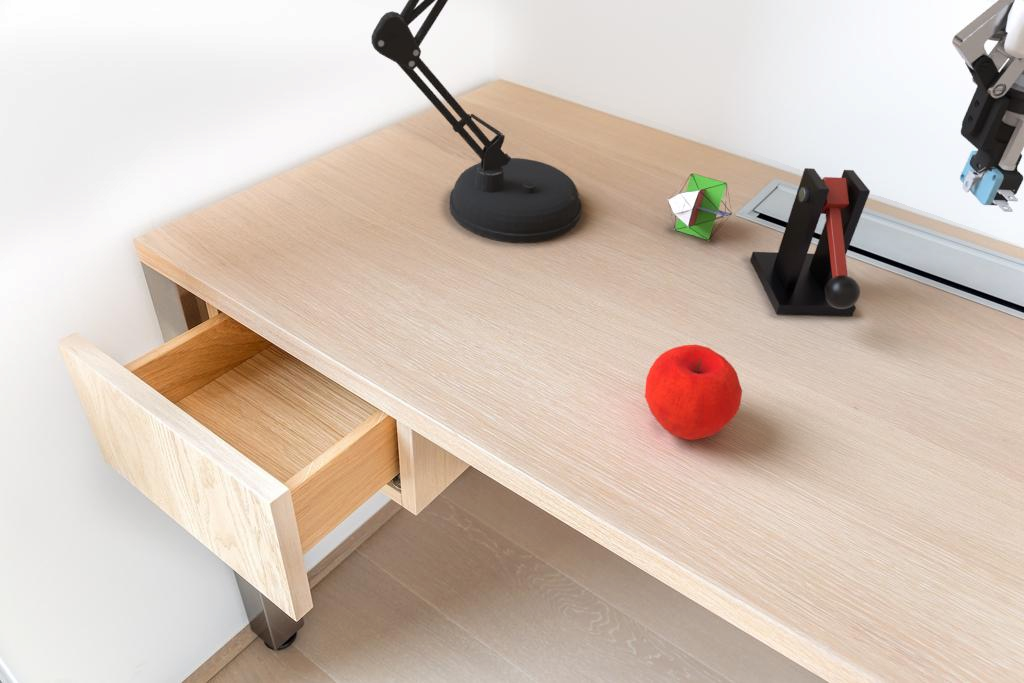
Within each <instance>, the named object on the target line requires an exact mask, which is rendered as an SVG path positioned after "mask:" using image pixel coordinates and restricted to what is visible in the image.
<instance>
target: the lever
mask: <svg viewBox="0 0 1024 683" xmlns="http://www.w3.org/2000/svg"><path fill="white" fill-rule="evenodd" d="M821 179H822V180H823V182H824V183H825V184H826V186H827V187H828V189H829V192H828V195H827V198H826V201H825V204H824V207H823V209H822V212H821V215H822V214H823V215H825V222H826V223H827V232H828V241H829V250H830V259H831V269H832V279H830V280H829V281H828V282H827V284H826V285H825V288H824V297H825V300H826V301H827V303H828V304H829V305H831V306H832V307H834V308H838V309H846V308H849V307H851V306H853V305H855V304H856V303H857V302H858V300H859V299H860V296H861V287H860V285H859V283H858V282H857V280H856V279H854V278H853V277H851V276H849V274H848V266H847V265H848V264H847V256H846V255H847V254H846V255H845V247H844V238H843V229H842V220H841V211H842V210H843V209H844V208H845V207H846V206H847V205H848V204H849V199H848V191H847V182H846V178H841V177H835V176H834V177H833V176H831V177H829V176H824V177H823V178H821Z"/></svg>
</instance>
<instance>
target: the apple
mask: <svg viewBox="0 0 1024 683" xmlns="http://www.w3.org/2000/svg"><path fill="white" fill-rule="evenodd" d="M644 389H645V390H644V398H645V400H646V403H647V405H648V409H649V411H650V413H651V414H652V416H653V418H655V420H656V421H657V423H659V424H660V426H661V427H662V428H663V429H664V430H665V431H667V432H668V433H670V434H671V435H673V436H676V437H678V438H681V439H684V440H691V441H692V440H693V441H694V440H699V439H703V438H707V437H711V436H713V435H715V434H716V433H719V432H720V431H721V430H722V429H724V428H725V427H726V426H727V424H729V423H730V421H732V420H733V419H734V418H735V417H736V415H737V413H738V412H739V410H740V406H741V405H742V404H741V402H742V394H743V389H742V386H741V383H740V380H739V376H738V372H737V371H736V369H735V367H734V366H733V365H732V364H731V363H730V362H729V361H728V360H727V359H726V358H725V357H724V356H723V355H721V354H719V353H718V352H717V351H715V350H713V349H711V348H710V347H708V346H704V345H698V344H685V345H680V346H676V347H673V348H670V349H667V350H666V351H664V352H662V353H661V354H660V355H659V356H658V357H657V358H655V360H654V362H653V363H652V365H651V366H650V368H649V371H648V373H647V376H646V379H645V388H644Z"/></svg>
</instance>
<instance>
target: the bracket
mask: <svg viewBox="0 0 1024 683" xmlns="http://www.w3.org/2000/svg"><path fill="white" fill-rule="evenodd" d="M840 178H846V182H847V191H848V199H849V204H848V205H847V206H846V207H845V208H844V209H843V210H842V211H841V220H842V229H843V238H844V247H845V255H847V252H848V250H849V247H850V245H851V242H852V240H853V237H854V234H855V231H856V229H857V227H858V225H859V221H860V219H861V216H862V214H863V212H864V209H865V207H866V203H867V200H868V199H869V195H870V193H871V190H870V189H869V188H868V187H867V185H866V184H865V183H864V182H863V181H862V179H861V177H859V175H858V174H857V173H856V171H855V170H854V169H843V171H842V174H841V177H840ZM822 179H823V178H822V177H821V176H820V175H819V173H818V172H817V171H816V169H815V168H809V167H806V168H804V170H803V173H802V176H801V178H800V182H799V185H798V188H797V192H796V195H795V197H794V200H793V204H792V207H791V210H790V213H789V217H788V219H787V222H786V226H785V228H784V232H783V235H782V238H781V241H780V245H779V248H778V251H777V252H776V251H774V252H773V251H772V252H771V251H752V253H751V257H750V259H749V260H750V261H749V262H750V263H751V265H752V267H753V269H754V272H755V273H756V275H757V278H758V279H759V281H760V283H761V286H762V288H763V290H764V292H765V294H766V296H767V298H768V300H769V302H770V304H771V306H772V308H773V310H774V312H775V314H776V315H784V316H785V315H787V316H789V315H790V316H823V317H853V316H854V313H855V311H856V309H857V307H856V305H855V304H854V305H853V306H851V307H849V308H846V309H838V308H834V307H832V306H831V305H829V304H828V303H827V301H826V300H825V297H824V288H825V285H826V284H827V282H828V281H829V280H830V279H832V269H831V259H830V250H829V241H828V232H827V223H826V221H825V222H824V225H823V228H822V231H821V233H820V236H819V239H818V242H817V244H816V247H815V250H814V253H808V252H809V249H810V247H811V244H812V240H813V238H814V235H815V232H816V229H817V227H818V224H819V221H820V217H821V215H822V214H821V212H822V209H823V207H824V204H825V201H826V198H827V195H828V192H829V189H828V187H827V186H826V184H825V183H824V182H823V180H822Z"/></svg>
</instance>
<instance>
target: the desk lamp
mask: <svg viewBox="0 0 1024 683" xmlns="http://www.w3.org/2000/svg"><path fill="white" fill-rule="evenodd" d="M448 1H449V0H422V1H421V2H420V0H408V1H407V2H406V4H405V5H404V7H403V8H402V11H401V12H400V13H399V12H396V11H393V10H392V11H388V12H386V13H384V14H383V15H382V16H381V17H380V19H379V21H378V23H377V24H376V26H375V28H374V29H373V31H372V33H371V45H372V47H373V49H374V51H376V52H377V53H379V55H382V57H385V58H387V59H388V60H391V61H392V62H394V63H395V64H397V66H399V67H400V69H401V70H402V71H403V72H404V73H405V75H407V77H408V78H409V79H410V80H411V81H412V83H414V85H415V86H416V87H417V88H418V89H419V90H420V91H421V92H422V94H423V95H424V96H425V97H426V98H427V99H428V101H429V102H430V103H431V104H432V105H433V106H434V108H435V109H436V110H437V111H438V112H439V114H441V115H442V116H443V117H444V119H445V120H446V121H447V122H448V123H449V124H450V126H451V127H452V130H453V132H455V133H458V135H459V136H460V137H461V138H462V139H463V140H464V142H465V143H466V144H467V145H468V146H469V147H470V148H471V149H472V150H473V152H474V153H475V154H476V155H477V156H478V157H479V158H480V162H478V163H476V164H473V165H472V166H470V167H468V168H467V169H465V170H464V171H463V172H461V174H460V175H459V176H458V178H457V180H456V181H455V183H454V186H453V188H452V190H451V191H450V194H449V211H450V214H451V216H452V217H453V219H454V221H456V222H457V224H459V225H460V226H462V227H463V228H464V229H465V230H467V231H468V232H471V233H473V234H475V235H477V236H480V237H483V238H486V239H490V240H493V241H500V242H506V243H515V244H516V243H517V244H518V243H519V244H529V243H539V242H546V241H549V240H553V239H556V238H560V237H562V236H564V235H566V234H567V233H569V232H571V231H572V230H573V229H574V228H575V227H576V226H577V225H578V223H579V222H580V219H581V214H582V201H581V199H580V195H579V192H578V188H577V186H576V184H575V182H574V181H573V179H572V178H571V177H570V176H569V175H567V174H566V173H565V172H563V171H561V170H560V169H558V168H557V167H555V166H553V165H551V164H548V163H545V162H543V161H538V160H534V159H527V158H521V157H511V156H510V155H509V154H508V153H505V152H504V151H503V150H502V147H503V144H504V142H505V137H506V136H505V134H504V133H503V132H501V131H500V130H498V129H497V128H496V127H494V126H492V125H490V124H489V123H487V122H486V121H485V120H483V119H481V118H480V117H478V116H477V115H475V114H474V113H471V114H470V113H467V112H466V111H465V110H464V108H463V107H462V106H461V105H460V103H459V102H458V101H457V99H455V97H454V96H453V95H452V94H451V93H450V92H449V90H448V89H447V88H446V87H445V85H444V84H442V82H441V81H440V80H439V79H438V77H437V76H436V74H434V72H433V71H432V70H431V69H430V67H429V66H427V64H426V63H425V62H424V61H423V60H422V59H421V53H422V50H421V48H420V46H421V44H422V43H423V41H424V40H425V38H426V36H427V35H428V33H429V31H430V30H431V29H432V27H433V25H434V24H435V22H436V20H437V18H438V17H439V16H440V14H441V12H442V11H443V9H444V8H445V6H446V4H447V3H448ZM434 2H435V3H434ZM433 3H434V5H433V6H432V8H431V9H430V11H429V13H428V14H427V16H426V18H425V19H424V21H423V23H422V24H421V26H420V27H419V29H418V30H417V32H416V34H415V35H414V34H413V33H412V31H411V29H410V27H409V25H411V23H412V22H414V21H415V20H416V19H417V18H418V17H419V16H420V15H421V14H422V13H424V12H425V11H426V10H427V9H428V8H429V7H430V6H431V5H432V4H433ZM416 68H417V69H418V70H419V72H420V73H421V74H422V75H423V76H424V77H425V78H426V80H427V81H428V82H429V83H430V84H431V85H432V87H433V88H434V89H435V90H436V91H437V93H439V95H440V96H441V97H442V98H443V99H444V101H445V102H446V103H447V104H448V105H449V106H450V108H451V109H452V110H453V111H454V112H455V113H456V114H457V116H458V117H459V118H460V119H459V120H458V119H457V118H456V117H455V116H454V115H453V114H452V113H451V111H450V110H449V109H448V108H447V107H446V106H445V105H444V103H443V102H442V101H441V100H440V99H439V97H438V96H437V95H436V94H435V93H434V91H433V90H431V88H430V87H429V86H428V85H427V83H426V82H425V81H424V80H423V79H422V78H421V77H420V75H418V73H417V72H416V71H415V70H414V69H416ZM475 121H476V122H478V123H479V124H480V125H482V126H484V128H486V129H488V130H490V131H491V132H492V133H493V134H495V136H494V137H493V138H492V139H491V140H490V139H489V137H487V136H486V134H485V133H484V132H483V131H482V130H481V128H480V127H479V126H478V125H477V124H476V122H475ZM465 126H467V127H468V128H469V130H470V131H471V132H472V133H473V134H474V136H475V137H476V138H477V139H478V140H479V142H481V144H482V145H483V148H482V147H481V146H480V145H479V144H478V142H477V141H476V140H475V139H474V138H473V137H472V136H471V134H470V133H469V132H468V131H467V130H466V128H465Z"/></svg>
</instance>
